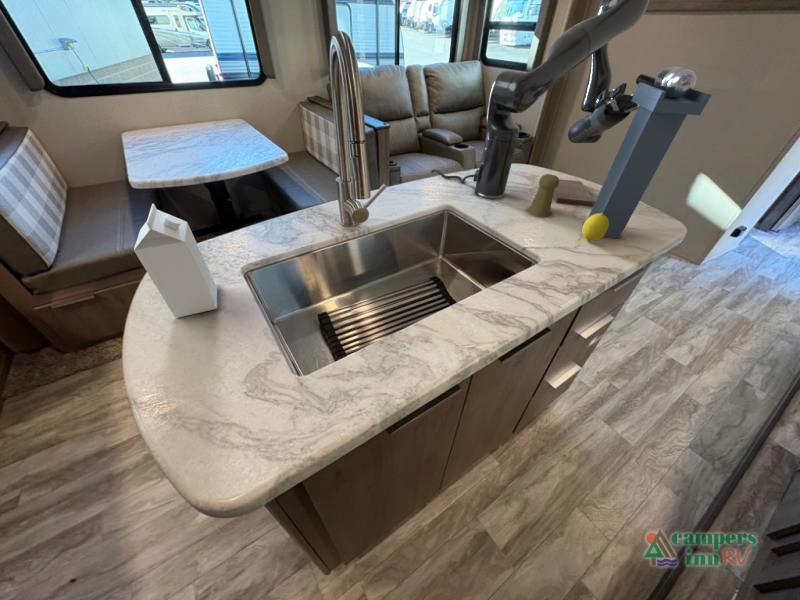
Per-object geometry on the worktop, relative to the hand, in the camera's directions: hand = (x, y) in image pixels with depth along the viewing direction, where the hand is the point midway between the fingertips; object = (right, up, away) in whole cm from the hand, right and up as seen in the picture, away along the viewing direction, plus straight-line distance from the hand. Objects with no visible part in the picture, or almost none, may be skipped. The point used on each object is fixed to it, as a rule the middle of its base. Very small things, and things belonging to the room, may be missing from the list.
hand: (643, 88), depth 78 cm
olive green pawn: (-18, -25, +19) cm, 36 cm away
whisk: (-1, -5, -6) cm, 8 cm away
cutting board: (-3, -16, +30) cm, 34 cm away
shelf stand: (-3, -33, +11) cm, 34 cm away
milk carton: (-99, -53, -15) cm, 113 cm away
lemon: (-10, -36, +7) cm, 38 cm away
